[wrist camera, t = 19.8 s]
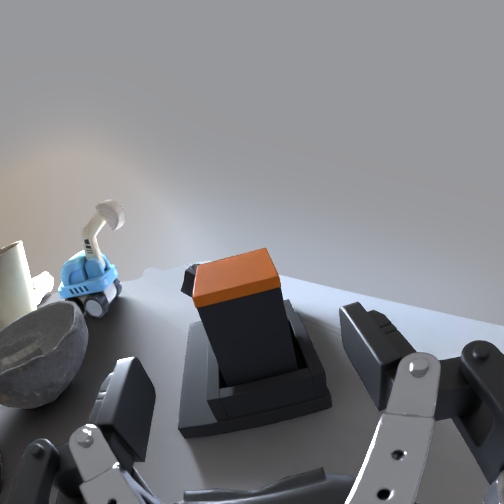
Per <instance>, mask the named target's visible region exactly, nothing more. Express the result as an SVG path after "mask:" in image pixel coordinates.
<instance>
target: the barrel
mask: <svg viewBox="0 0 504 504" xmlns="http://www.w3.org/2000/svg"><path fill="white" fill-rule="evenodd" d="M3 485H4V479H3V470H2V459H1V452H0V492H1V490H2V487H3Z"/></svg>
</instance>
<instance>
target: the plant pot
mask: <svg viewBox="0 0 504 504" xmlns="http://www.w3.org/2000/svg"><path fill="white" fill-rule="evenodd" d="M36 309H37V306H36V301H35V296H34V291H33V287H32V282H31V278H30V273H29V269H28V265H27V261H26V257H25V253H24V249H23V245H22V241H18V242H16V243H13V244H10V245H8V246H6V247H4V248H2V249H0V329H2V328H3V327H5V326H6V325H8V324H10V323H11V322H13V321H14V320H16V319H18V318H20V317H21V316H23V315H25V314H27V313H29V312H32V311H34V310H36Z"/></svg>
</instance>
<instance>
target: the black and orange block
mask: <svg viewBox="0 0 504 504" xmlns="http://www.w3.org/2000/svg"><path fill="white" fill-rule="evenodd" d="M192 299H193V301H194V304H195V307H196V308H197V310H198V313H199V315H200V318H201V321H202V324H203V326H204V329H205V332H206V334H207V337H208V339H209V342H210V345H211V347H212V350H213V352H214V355H215V358H216V360H217V363H218V365H219V368H220V370H221V373H222V375H223V377H224V380H225V382H226V385H227V387H232V386H237V385H241V384H246V383H250V382H254V381H259V380H263V379H267V378H271V377H275V376H279V375H283V374H286V373H290V372H294V371H297V370H298V368H297V363H296V358H295V353H294V348H293V343H292V338H291V334H290V329H289V324H288V319H287V315H286V310H285V305H284V301H283V296H282V291H281V283H280V278H279V275H278V273H277V271H276V268H275V266H274V264H273V262H272V260H271V258H270V256H269V253H268V251H267V249H266V248H263V249H260V250H255V251H251V252H248V253H244V254H240V255H236V256H232V257H228V258H224V259H221V260H216V261H213V262H209V263H205V264H201V265H198V266H197V271H196V277H195V284H194V290H193V297H192Z"/></svg>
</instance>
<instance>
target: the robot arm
mask: <svg viewBox="0 0 504 504" xmlns="http://www.w3.org/2000/svg"><path fill="white" fill-rule="evenodd" d="M339 316H340V326H341V336H342V343H343V347H344V350H345V352H346V354H347V356H348V358H349V360H350V361H351V363H352V365H353V367H354V368H355V370H356V372H357V374H358V376H359V377H360V379H361V381H362V383H363V384H364V386H365V388H366V390H367V392H368V393H369V395H370V397H371V399H372V401H373V402H374V404H375V406H376V408H377V410H378V411H382V410H384V409H386V411H385V412H383V414H382V416H381V418H380V421H379V424H378V427H377V430H376V432H375V435H374V438H373V441H372V443H371V446H370V448H369V451H368V454H367V456H366V459H365V461H364V464H363V466H362V468H361V471H360V473H359V475H358V478H357V477H352V476H346V475H325V472H324V469H323V467H322V468H319V469H315V470H311V471H308V472H304V473H300V474H296V475H292V476H288V477H286V478H283V479H281V480H279V481H277V482H274V483H272V484H270V485H267V486H265V487H262V488H260V489H257V490H255V491H237V490H224V489H209V490H197V491H184V500H183V501H180V502H177V503H175V504H419V503H416V502H415V498H416V495H417V492H418V489H419V486H420V482H421V479H422V475H423V471H424V468H425V464H426V460H427V456H428V452H429V447H430V443H431V438H432V433H433V428H434V422H435V421H438V420H443V419H448V418H451V419H452V421H453V422H454V424H455V426H456V427H457V429H458V431H459V432H460V434H461V436H462V437H463V439H464V441H465V442H466V444H467V446H468V447H469V449H470V451H471V453H472V454H473V456H474V458H475V459H476V461H477V463H478V465H479V467H480V468H481V470H482V472H483V474H484V476H485V477H486V479H487V481H488V483H489V485H490V486H489V488H488V489H487V491H486V493H485V496H484V504H504V355H503V354H502V353H501V352H500V351H499V349H498V348H497V347H496V346H494V345H493V344H492V343H490V342H487V341H481V340H478V341H473V342H470V343H468V344H467V345H466V346H465V347H464V348H463V350H462V354H461V357H456V358H451V359H446V360H438V359H437V358H436V357H435V356H433V355H431V354H429V353H424V352H416V350H415V349H414V348H413V347H412V346H411V345H410V343H409V342H408V341H407V340H406V339H405V338H404V336H403V335H402V334H401V333H400V332H399V331H398V330H397V328H396V327H395V326H394V325H393V324H391V322H390V320H389V319H388V318H387V317H386V316H385V315H384V314H382V313H379V312H377V311H375V310H372V311H369V312H367V311H366V310H365V309H364V308H363V306H362V305H361V304H360V303H359V302H355V303H352V304H349V305H346V306H342V307H340V308H339ZM99 392H100V393H98V396H97V398H96V399H97V401H95V404H94V406H93V409H92V412H91V414H90V417H89V420H88V423H87V425H84V426H82V427H80V428H78V429H77V430H75V431H74V432H73V434H72V435H71V437H70V439H69V443H65V444H61V445H58V446H53V445H52V444H51V443H50V442H49V441H48V440H47V439H45V438H40V439H36V440H34V441H33V442H31V443H30V444H29V446H28V447H27V449H26V451H25V453H24V456H23V459H22V461H21V464H20V467H19V470H18V473H17V476H16V478H15V481H14V485H13V488H12V491H11V494H10V497H9V501H8V504H49V497H50V493H51V489H52V486H54V487H55V488H56V489H57V490H59V491H58V495H57V499H56V504H162V503H161V502H160V501H159V500H158V498H157V497H156V496H155V494H154V493H153V492H152V491H151V489H150V488H149V487H148V485H147V484H146V483H145V481H144V480H143V478H142V477H141V476H140V474H139V473H138V471H137V470H136V469H135V468H134V467H133V463H134V462H145V457H146V451H147V445H148V439H149V433H150V427H151V421H152V416H153V410H154V405H155V399H156V394H155V389H154V386H153V384H152V382H151V380H150V378H149V377H148V375H147V373H146V371H145V370H144V368H143V366H142V364H141V362H140V361H139V359H138V358H137V357H132V358H126V359H120V360H118V361H117V364H116V366H115V369H114V371H113V373H110V374H109V375H108V377H107V378H106V379H105V380H104V381H103V383H102V385H101V388H100V391H99Z"/></svg>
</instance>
